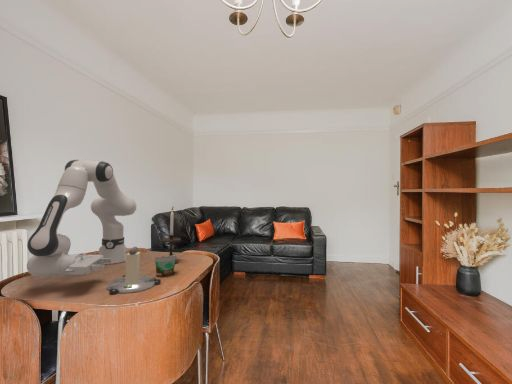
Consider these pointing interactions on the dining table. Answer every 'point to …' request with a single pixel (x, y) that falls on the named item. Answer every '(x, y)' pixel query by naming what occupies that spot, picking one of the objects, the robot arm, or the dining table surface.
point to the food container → (165, 265)
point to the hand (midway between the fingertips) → (107, 263)
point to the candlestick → (171, 235)
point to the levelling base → (132, 285)
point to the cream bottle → (132, 266)
